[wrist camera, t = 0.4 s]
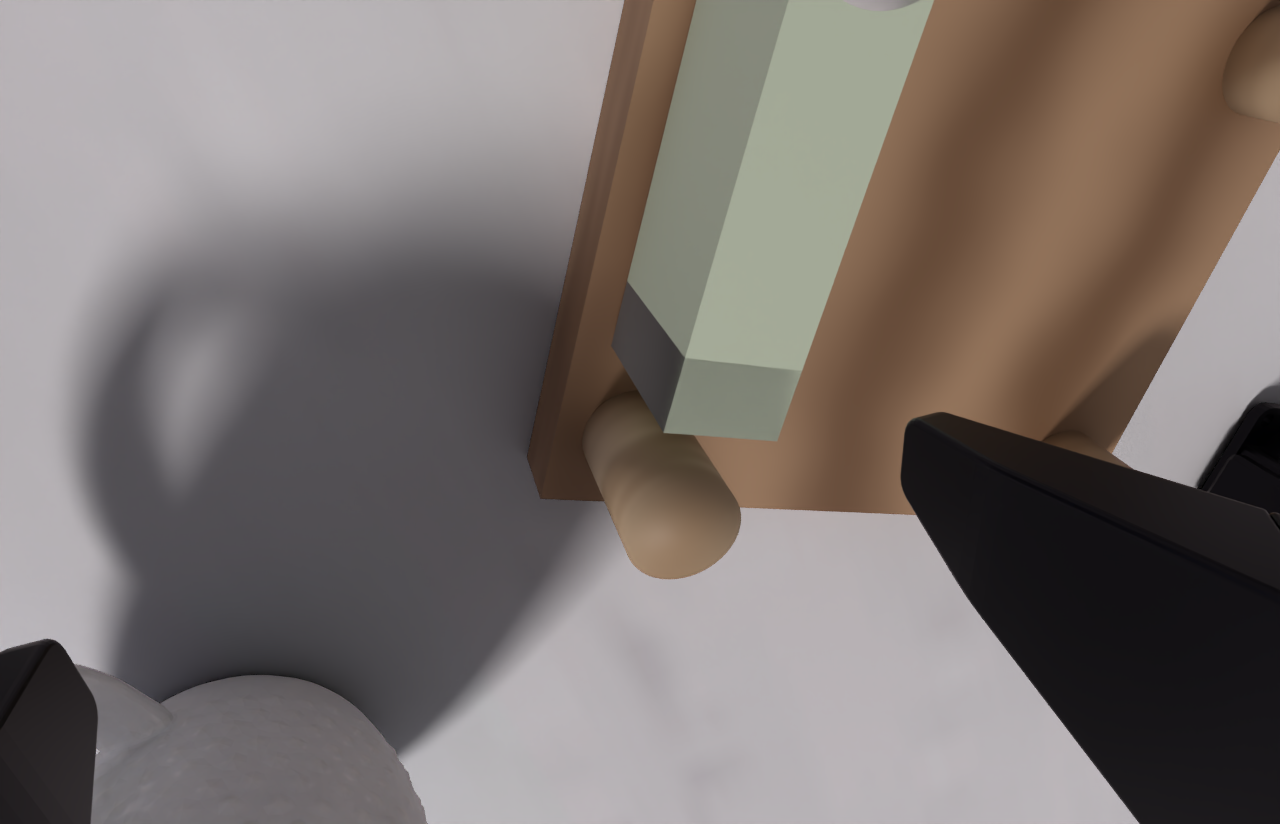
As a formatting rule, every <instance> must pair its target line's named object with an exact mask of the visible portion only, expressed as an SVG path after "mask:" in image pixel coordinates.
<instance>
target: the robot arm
mask: <svg viewBox="0 0 1280 824" xmlns="http://www.w3.org/2000/svg"><path fill="white" fill-rule="evenodd" d="M900 480H901V486H902V490H903V492H904V495H905V497H906V499H907V501H908V502H909V504H910V505H911V507H912V509H913V510H914V512H915V514H916V515H917V517H918V519H919V520H920V522H921V524H922V525H923V527H924V529H925V530H926V532H927V533H928V535H929V537H930V538H931V540H932V542H933V543H934V545H935V547H936V548H937V550H938V552H939V553H940V555H941V557H942V558H943V560H944V561H945V563H946V565H947V566H948V568H949V570H950V571H951V573H952V575H953V576H954V578H955V580H956V581H957V583H958V584H959V586H960V587H961V589H962V590H963V592H964V594H965V595H966V597H967V598H968V600H969V601H970V602H971V604H972V605H973V606H974V608H975V609H976V611H977V612H978V613H979V615H980V616H981V617H982V619H983V620H984V621H985V623H986V624H987V625H988V626H989V628H990V629H991V630H992V632H993V633H994V634H995V636H996V637H997V638H998V640H999V641H1000V642H1001V643H1002V645H1003V646H1004V647H1005V649H1006V650H1007V651H1008V653H1009V654H1010V655H1011V656H1012V658H1013V659H1014V660H1015V662H1016V663H1017V664H1018V666H1019V667H1020V668H1021V670H1022V671H1023V672H1024V673H1025V675H1026V676H1027V677H1028V679H1029V680H1030V681H1031V683H1032V684H1033V685H1034V687H1035V688H1036V689H1037V690H1038V692H1039V693H1040V694H1041V696H1042V697H1043V698H1044V700H1045V701H1046V702H1047V703H1048V705H1049V706H1050V707H1051V709H1052V710H1053V711H1054V713H1055V714H1056V715H1057V717H1058V718H1059V719H1060V720H1061V722H1062V723H1063V724H1064V726H1065V727H1066V728H1067V730H1068V731H1069V732H1070V734H1071V735H1072V736H1073V737H1074V739H1075V740H1076V741H1077V743H1078V744H1079V745H1080V747H1081V748H1082V749H1083V750H1084V752H1085V753H1086V754H1087V756H1088V757H1089V758H1090V760H1091V761H1092V762H1093V764H1094V765H1095V766H1096V767H1097V769H1098V770H1099V771H1100V773H1101V774H1102V775H1103V777H1104V778H1105V779H1106V780H1107V782H1108V783H1109V784H1110V786H1111V787H1112V788H1113V790H1114V791H1115V792H1116V794H1117V795H1118V796H1119V797H1120V799H1121V800H1122V801H1123V803H1124V804H1125V805H1126V807H1127V808H1128V809H1129V811H1130V812H1131V813H1132V814H1133V816H1134V817H1135V818H1136V820H1137V821H1138V822H1139V824H1280V404H1272V403H1260V404H1258V405H1256V406H1255V407H1254V408H1253V409H1251V411H1250V412H1249V413H1248V415H1247V416H1246V418H1245V420H1244V421H1243V423H1242V424H1241V426H1240V428H1239V429H1238V431H1237V433H1236V434H1235V436H1234V437H1233V439H1232V441H1231V442H1230V444H1229V446H1228V447H1227V449H1226V450H1225V452H1224V454H1223V455H1222V457H1221V458H1220V460H1219V462H1218V463H1217V465H1216V467H1215V468H1214V470H1213V471H1212V473H1211V475H1210V476H1209V478H1208V479H1207V481H1206V483H1205V484H1204V486H1203V488H1202V489H1201V490H1199V489H1196V488H1193V487H1190V486H1186V485H1183V484H1180V483H1176V482H1173V481H1170V480H1167V479H1163V478H1160V477H1157V476H1153V475H1150V474H1147V473H1143V472H1140V471H1137V470H1134V469H1130V468H1127V467H1124V466H1120V465H1117V464H1114V463H1111V462H1107V461H1104V460H1101V459H1097V458H1094V457H1091V456H1088V455H1084V454H1081V453H1078V452H1074V451H1071V450H1068V449H1065V448H1061V447H1058V446H1055V445H1051V444H1048V443H1045V442H1042V441H1038V440H1035V439H1032V438H1028V437H1025V436H1022V435H1019V434H1015V433H1012V432H1009V431H1005V430H1002V429H999V428H996V427H992V426H989V425H986V424H982V423H979V422H976V421H973V420H969V419H966V418H963V417H959V416H956V415H953V414H950V413H946V412H936V413H932V414H928V415H924V416H920V417H916V418H913V419H911V420H910V421H909V422H908V423H907V425H906V427H905V432H904V442H903V452H902V462H901V473H900ZM97 728H98V711H97V705H96V702H95V699H94V696H93V694H92V692H91V691H90V689H89V687H88V686H87V684H86V683H85V681H84V679H83V678H82V676H81V675H80V673H79V671H78V670H77V668H76V667H75V665H74V663H73V662H72V660H71V658H70V657H69V655H68V654H67V652H66V650H65V649H64V648H63V647H62V645H61V644H60V643H58V642H57V641H55V640H51V639H43V640H39V641H35V642H31V643H27V644H23V645H20V646H16V647H12V648H9V649H6V650H4V651H2V652H0V824H91V814H92V800H93V785H94V771H95V757H96V743H97Z"/></svg>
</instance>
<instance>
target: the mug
mask: <svg viewBox="0 0 1280 824" xmlns="http://www.w3.org/2000/svg"><path fill="white" fill-rule="evenodd" d="M74 665H75V667H76V668H77V670H78V671H79V673H80V675H81V676H82V678H83V679H84V681H85V683H86V684H87V686H88V687H89V689H90V691H91V692H92V694H93V696H94V699H95V702H96V705H97V711H98V728H97V743H96V748H97V749H98V750H99V751H100V752H99V753H98V754H97V755H96V757H95V771H94V785H93V800H92V814H91V824H428V823H427V821H426V816H425V810H424V807H423V806H422V805H421V800H420V798H419V797H418V795H417V794H416V793H415V791H414V788H413V786H412V782H411V781H410V777H409V773H408V772H407V771H406V770H405V769H404V765H403V764H402V763H401V762H400V761H399V760H398V757H397V753H396V750H395V749H394V748H393V747H392V746H391V745H389V744H388V743H387V741H386V740H385V738H384V737H383V736H382V735H381V733H380V732H379V731H378V730H377V728H376V727H375V726H374V725H373V724H372V723H371V722H370V720H369V719H368V718H367V717H366V716H365V715H364V714H363V713H362V712H361V711H360V710H358V709H357V708H356V707H355V706H354V705H353V704H351V703H350V702H349V701H347V700H346V699H344V698H343V697H341V696H340V695H338V694H336V693H334V692H332V691H331V690H329V689H326V688H324V687H322V686H320V685H318V684H315V683H312V682H309V681H305V680H301V679H297V678H293V677H283V676H273V675H246V676H238V677H230V678H225V679H221V680H217V681H213V682H209V683H205V684H201V685H198V686H196V687H193V688H190V689H188V690H185V691H183V692H181V693H179V694H177V695H175V696H173V697H171V698H169V699H167V700H165V701H163V702H162V703H158V702H156V701H155V700H153V699H152V698H150V697H148V696H147V695H145V694H143V693H142V692H140V691H139V690H137V689H135V688H134V687H132V686H131V685H129V684H127V683H125V682H124V681H122V680H120V679H118V678H116V677H114V676H111V675H109V674H106V673H104V672H101V671H98V670H95V669H92V668H88V667H85V666H82V665H77V664H74Z"/></svg>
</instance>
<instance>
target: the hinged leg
mask: <svg viewBox="0 0 1280 824" xmlns="http://www.w3.org/2000/svg"><path fill="white" fill-rule="evenodd" d="M933 2H934V0H696V4H695V8H694V12H693V16H692V20H691V24H690V28H689V32H688V36H687V40H686V45H685V49H684V53H683V57H682V61H681V65H680V69H679V73H678V77H677V81H676V85H675V89H674V93H673V97H672V101H671V105H670V109H669V113H668V117H667V121H666V126H665V130H664V134H663V138H662V142H661V146H660V150H659V154H658V158H657V162H656V166H655V170H654V174H653V178H652V182H651V186H650V190H649V194H648V198H647V203H646V207H645V211H644V215H643V219H642V223H641V227H640V231H639V235H638V239H637V243H636V247H635V251H634V255H633V259H632V263H631V267H630V271H629V275H628V280H627V284H626V288H625V292H624V296H623V300H622V304H621V308H620V312H619V316H618V320H617V324H616V328H615V332H614V336H613V340H612V344H611V346H612V348H613V350H614V351H615V353H616V355H617V356H618V358H619V360H620V361H621V363H622V365H623V366H624V368H625V370H626V371H627V373H628V375H629V376H630V378H631V380H632V381H633V383H634V385H635V386H636V388H637V390H638V391H639V393H640V395H641V396H642V398H643V400H644V401H645V403H646V405H647V406H648V408H649V410H650V411H651V413H652V415H653V416H654V418H655V420H656V421H657V423H658V425H659V426H660V428H661V430H662V431H663V433H672V434H686V435H699V436H712V437H726V438H739V439H752V440H765V441H777V440H778V437H779V434H780V431H781V429H782V426H783V423H784V420H785V417H786V415H787V412H788V409H789V406H790V403H791V401H792V398H793V395H794V392H795V389H796V387H797V384H798V381H799V378H800V375H801V372H802V370H803V367H804V364H805V361H806V358H807V356H808V353H809V350H810V347H811V344H812V342H813V339H814V336H815V333H816V330H817V328H818V325H819V322H820V319H821V316H822V314H823V311H824V308H825V305H826V302H827V299H828V297H829V294H830V291H831V288H832V285H833V283H834V280H835V277H836V274H837V271H838V269H839V266H840V263H841V260H842V257H843V255H844V252H845V249H846V246H847V243H848V241H849V238H850V235H851V232H852V229H853V226H854V224H855V221H856V218H857V215H858V212H859V210H860V207H861V204H862V201H863V198H864V196H865V193H866V190H867V187H868V184H869V182H870V179H871V176H872V173H873V170H874V168H875V165H876V162H877V159H878V156H879V153H880V151H881V148H882V145H883V142H884V139H885V137H886V134H887V131H888V128H889V125H890V123H891V120H892V117H893V114H894V111H895V109H896V106H897V103H898V100H899V97H900V95H901V92H902V89H903V86H904V83H905V81H906V78H907V75H908V72H909V69H910V66H911V64H912V61H913V58H914V55H915V52H916V50H917V47H918V44H919V41H920V38H921V36H922V33H923V30H924V27H925V24H926V22H927V19H928V16H929V13H930V10H931V8H932V5H933Z"/></svg>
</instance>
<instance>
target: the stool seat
mask: <svg viewBox="0 0 1280 824" xmlns="http://www.w3.org/2000/svg"><path fill="white" fill-rule="evenodd" d="M695 4H696V0H625V1H624V6H623V10H622V15H621V20H620V24H619V29H618V34H617V38H616V43H615V48H614V52H613V57H612V62H611V66H610V71H609V76H608V80H607V85H606V90H605V95H604V99H603V104H602V109H601V113H600V118H599V123H598V127H597V132H596V137H595V141H594V146H593V151H592V155H591V160H590V165H589V169H588V174H587V179H586V183H585V188H584V193H583V197H582V202H581V207H580V211H579V216H578V221H577V225H576V230H575V235H574V240H573V244H572V249H571V254H570V258H569V263H568V268H567V272H566V277H565V282H564V286H563V291H562V296H561V300H560V305H559V310H558V314H557V319H556V324H555V328H554V333H553V338H552V342H551V347H550V352H549V356H548V361H547V366H546V370H545V375H544V380H543V385H542V389H541V394H540V399H539V403H538V408H537V413H536V417H535V422H534V427H533V431H532V436H531V441H530V445H529V450H528V455H527V459H528V462H529V465H530V468H531V471H532V474H533V477H534V480H535V483H536V486H537V490H538V493H539V496H540V499H559V500H582V501H605V504H606V506H607V508H608V511H609V513H610V515H611V518H612V520H613V522H614V525H615V527H616V529H617V532H618V534H619V536H620V538H621V541H622V543H623V545H624V548H625V550H626V552H627V555H628V557H629V559H630V561H631V562H632V563H633V565H634V566H635V567H636V568H637V569H638V570H640V571H641V572H643V573H645V574H647V575H649V576H652V577H655V578H660V579H679V578H684V577H688V576H692V575H694V574H697V573H699V572H701V571H703V570H705V569H707V568H709V567H710V566H712V565H713V564H715V563H716V562H717V561H718V560H719V559H721V558H722V557H723V556H724V555H725V554H726V552H727V551H728V550H729V549H730V547H731V546H732V544H733V543H734V541H735V539H736V537H737V535H738V532H739V528H740V523H741V512H740V507H745V508H768V509H791V510H814V511H837V512H861V513H884V514H907V515H916V514H915V512H914V510H913V509H912V507H911V505H910V504H909V502H908V501H907V499H906V497H905V495H904V492H903V490H902V486H901V480H900V473H901V462H902V452H903V442H904V432H905V427H906V425H907V423H908V422H909V421H910V420H911V419H913V418H916V417H920V416H924V415H928V414H932V413H936V412H946V413H950V414H953V415H956V416H959V417H963V418H966V419H969V420H973V421H976V422H979V423H982V424H986V425H989V426H992V427H996V428H999V429H1002V430H1005V431H1009V432H1012V433H1015V434H1019V435H1022V436H1025V437H1028V438H1032V439H1035V440H1038V441H1042V442H1045V443H1048V444H1051V445H1055V446H1058V447H1061V448H1065V449H1068V450H1071V451H1074V452H1078V453H1081V454H1084V455H1088V456H1091V457H1094V458H1097V459H1101V460H1104V461H1107V462H1111V463H1114V464H1117V465H1120V466H1124V467H1127V468H1130V469H1132V468H1131V467H1129V466H1128V465H1127V464H1125V463H1124V462H1122V461H1121V460H1120V459H1118V458H1117V457H1115V456H1114V455H1113V454H1112V452H1113V450H1114V448H1115V447H1116V445H1117V443H1118V441H1119V439H1120V438H1121V436H1122V434H1123V432H1124V430H1125V429H1126V427H1127V425H1128V423H1129V421H1130V419H1131V418H1132V416H1133V414H1134V412H1135V410H1136V409H1137V407H1138V405H1139V403H1140V401H1141V400H1142V398H1143V396H1144V394H1145V392H1146V391H1147V389H1148V387H1149V385H1150V383H1151V382H1152V380H1153V378H1154V376H1155V374H1156V373H1157V371H1158V369H1159V367H1160V365H1161V363H1162V362H1163V360H1164V358H1165V356H1166V354H1167V353H1168V351H1169V349H1170V347H1171V345H1172V344H1173V342H1174V340H1175V338H1176V336H1177V335H1178V333H1179V331H1180V329H1181V327H1182V326H1183V324H1184V322H1185V320H1186V318H1187V316H1188V315H1189V313H1190V311H1191V309H1192V307H1193V306H1194V304H1195V302H1196V300H1197V298H1198V297H1199V295H1200V293H1201V291H1202V289H1203V288H1204V286H1205V284H1206V282H1207V280H1208V279H1209V277H1210V275H1211V273H1212V271H1213V269H1214V268H1215V266H1216V264H1217V262H1218V260H1219V259H1220V257H1221V255H1222V253H1223V251H1224V250H1225V248H1226V246H1227V244H1228V242H1229V241H1230V239H1231V237H1232V235H1233V233H1234V232H1235V230H1236V228H1237V226H1238V224H1239V223H1240V221H1241V219H1242V217H1243V215H1244V213H1245V212H1246V210H1247V208H1248V206H1249V204H1250V203H1251V201H1252V199H1253V197H1254V195H1255V194H1256V192H1257V190H1258V188H1259V186H1260V185H1261V183H1262V181H1263V179H1264V177H1265V176H1266V174H1267V172H1268V170H1269V168H1270V166H1271V165H1272V163H1273V161H1274V159H1275V157H1276V156H1277V154H1278V152H1279V150H1280V0H934V2H933V5H932V8H931V10H930V13H929V16H928V19H927V22H926V24H925V27H924V30H923V33H922V36H921V38H920V41H919V44H918V47H917V50H916V52H915V55H914V58H913V61H912V64H911V66H910V69H909V72H908V75H907V78H906V81H905V83H904V86H903V89H902V92H901V95H900V97H899V100H898V103H897V106H896V109H895V111H894V114H893V117H892V120H891V123H890V125H889V128H888V131H887V134H886V137H885V139H884V142H883V145H882V148H881V151H880V153H879V156H878V159H877V162H876V165H875V168H874V170H873V173H872V176H871V179H870V182H869V184H868V187H867V190H866V193H865V196H864V198H863V201H862V204H861V207H860V210H859V212H858V215H857V218H856V221H855V224H854V226H853V229H852V232H851V235H850V238H849V241H848V243H847V246H846V249H845V252H844V255H843V257H842V260H841V263H840V266H839V269H838V271H837V274H836V277H835V280H834V283H833V285H832V288H831V291H830V294H829V297H828V299H827V302H826V305H825V308H824V311H823V314H822V316H821V319H820V322H819V325H818V328H817V330H816V333H815V336H814V339H813V342H812V344H811V347H810V350H809V353H808V356H807V358H806V361H805V364H804V367H803V370H802V372H801V375H800V378H799V381H798V384H797V387H796V389H795V392H794V395H793V398H792V401H791V403H790V406H789V409H788V412H787V415H786V417H785V420H784V423H783V426H782V429H781V431H780V434H779V437H778V440H777V441H765V440H752V439H739V438H726V437H712V436H699V435H686V434H672V433H663V431H662V430H661V428H660V426H659V425H658V423H657V421H656V420H655V418H654V416H653V415H652V413H651V411H650V410H649V408H648V406H647V405H646V403H645V401H644V400H643V398H642V396H641V395H640V393H639V391H638V390H637V388H636V386H635V385H634V383H633V381H632V380H631V378H630V376H629V375H628V373H627V371H626V370H625V368H624V366H623V365H622V363H621V361H620V360H619V358H618V356H617V355H616V353H615V351H614V350H613V348H612V346H611V344H612V340H613V336H614V332H615V328H616V324H617V320H618V316H619V312H620V308H621V304H622V300H623V296H624V292H625V288H626V284H627V280H628V275H629V271H630V267H631V263H632V259H633V255H634V251H635V247H636V243H637V239H638V235H639V231H640V227H641V223H642V219H643V215H644V211H645V207H646V203H647V198H648V194H649V190H650V186H651V182H652V178H653V174H654V170H655V166H656V162H657V158H658V154H659V150H660V146H661V142H662V138H663V134H664V130H665V126H666V121H667V117H668V113H669V109H670V105H671V101H672V97H673V93H674V89H675V85H676V81H677V77H678V73H679V69H680V65H681V61H682V57H683V53H684V49H685V45H686V40H687V36H688V32H689V28H690V24H691V20H692V16H693V12H694V8H695Z"/></svg>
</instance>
